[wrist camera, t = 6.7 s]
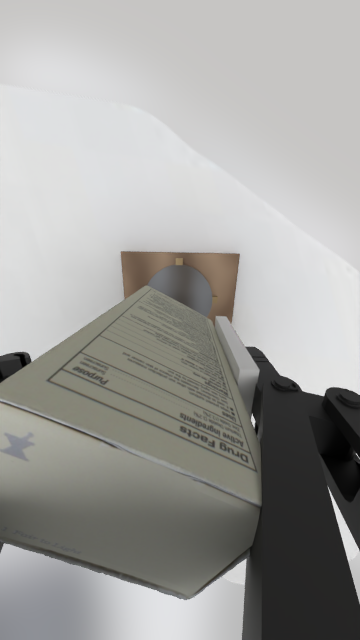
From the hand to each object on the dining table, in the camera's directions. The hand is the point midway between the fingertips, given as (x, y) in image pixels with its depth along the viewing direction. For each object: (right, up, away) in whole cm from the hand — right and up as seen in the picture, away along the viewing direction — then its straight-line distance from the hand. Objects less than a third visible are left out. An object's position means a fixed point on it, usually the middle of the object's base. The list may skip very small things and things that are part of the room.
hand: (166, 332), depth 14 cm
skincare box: (0, +1, +2) cm, 2 cm away
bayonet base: (+1, +5, +14) cm, 15 cm away
